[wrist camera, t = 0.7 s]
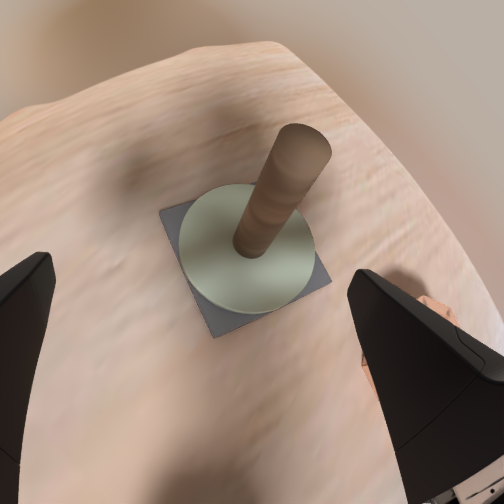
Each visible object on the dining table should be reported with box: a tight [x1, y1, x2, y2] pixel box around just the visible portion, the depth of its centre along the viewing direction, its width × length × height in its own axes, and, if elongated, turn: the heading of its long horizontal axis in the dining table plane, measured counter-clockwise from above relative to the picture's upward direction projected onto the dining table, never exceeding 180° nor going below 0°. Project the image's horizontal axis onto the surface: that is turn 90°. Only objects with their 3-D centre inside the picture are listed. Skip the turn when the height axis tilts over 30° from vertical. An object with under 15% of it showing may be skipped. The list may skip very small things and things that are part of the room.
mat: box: [159, 182, 332, 338], centre depth 26 cm, size 11×11×1 cm
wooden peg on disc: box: [179, 123, 332, 314], centre depth 20 cm, size 11×11×12 cm
